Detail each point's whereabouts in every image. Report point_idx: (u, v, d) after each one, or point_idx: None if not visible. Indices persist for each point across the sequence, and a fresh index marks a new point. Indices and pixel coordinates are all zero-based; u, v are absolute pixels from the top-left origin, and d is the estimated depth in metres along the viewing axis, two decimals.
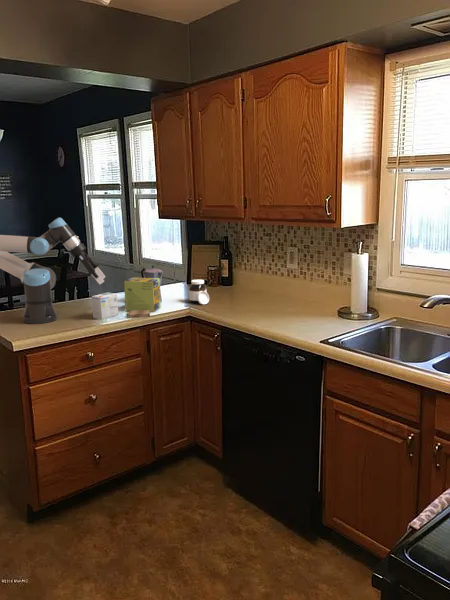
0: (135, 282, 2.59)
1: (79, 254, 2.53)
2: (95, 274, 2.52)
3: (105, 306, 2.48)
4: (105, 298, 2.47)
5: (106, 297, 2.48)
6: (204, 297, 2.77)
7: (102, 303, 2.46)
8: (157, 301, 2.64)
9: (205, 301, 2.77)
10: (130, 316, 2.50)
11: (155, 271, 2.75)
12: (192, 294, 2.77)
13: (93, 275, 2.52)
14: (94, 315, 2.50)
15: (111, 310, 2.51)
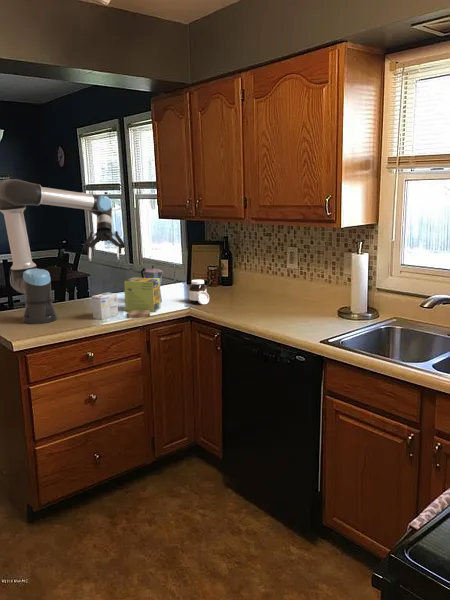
0: (135, 282, 2.59)
1: (111, 231, 2.68)
2: None
3: (105, 306, 2.48)
4: (105, 298, 2.47)
5: (106, 297, 2.48)
6: (204, 297, 2.77)
7: (102, 303, 2.46)
8: (157, 301, 2.64)
9: (205, 301, 2.77)
10: (130, 316, 2.50)
11: (155, 271, 2.75)
12: (192, 294, 2.77)
13: (120, 248, 2.62)
14: (94, 315, 2.50)
15: (111, 310, 2.51)
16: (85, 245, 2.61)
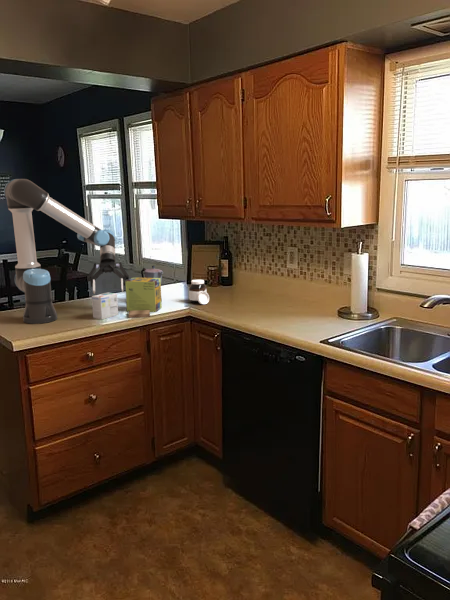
0: (136, 282, 2.58)
1: None
2: None
3: (105, 306, 2.48)
4: (105, 298, 2.47)
5: (106, 297, 2.48)
6: (204, 297, 2.77)
7: (102, 303, 2.46)
8: (158, 301, 2.64)
9: (205, 301, 2.77)
10: (130, 316, 2.50)
11: (155, 271, 2.75)
12: (192, 294, 2.77)
13: None
14: (94, 315, 2.50)
15: (111, 310, 2.51)
16: (89, 277, 2.59)
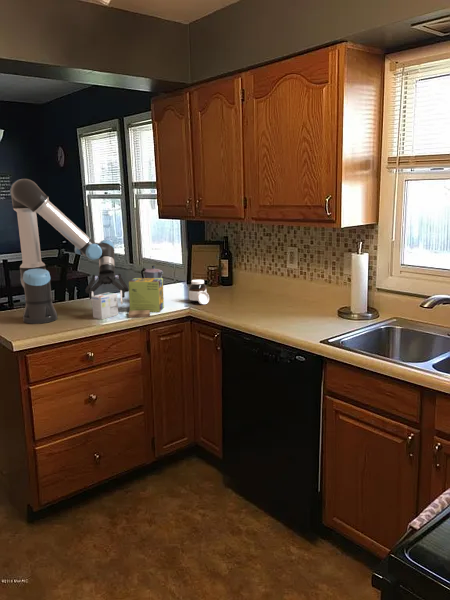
0: (140, 282, 2.57)
1: (114, 274, 2.62)
2: (124, 294, 2.57)
3: (105, 306, 2.48)
4: (105, 298, 2.47)
5: (106, 297, 2.48)
6: (204, 297, 2.77)
7: (102, 303, 2.46)
8: (161, 301, 2.64)
9: (205, 301, 2.77)
10: (130, 316, 2.50)
11: (155, 271, 2.75)
12: (192, 294, 2.77)
13: (124, 292, 2.56)
14: (94, 315, 2.50)
15: (111, 310, 2.51)
16: (87, 289, 2.54)
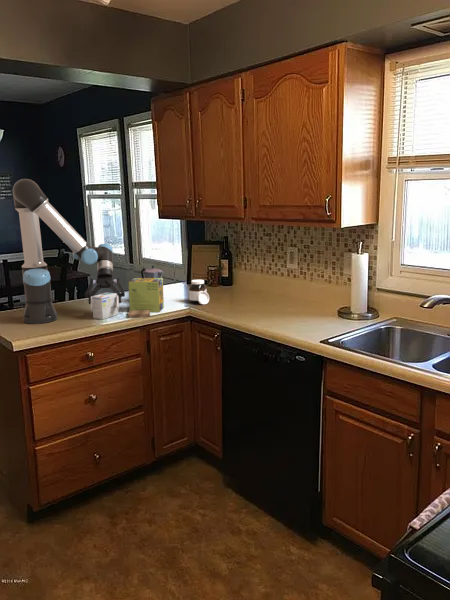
0: (140, 282, 2.57)
1: (112, 277, 2.59)
2: None
3: (106, 306, 2.48)
4: (106, 298, 2.47)
5: (107, 297, 2.48)
6: (204, 297, 2.77)
7: (103, 302, 2.46)
8: (161, 301, 2.64)
9: (205, 301, 2.77)
10: (130, 316, 2.50)
11: (155, 271, 2.75)
12: (192, 294, 2.77)
13: (120, 297, 2.53)
14: (94, 315, 2.49)
15: (111, 309, 2.51)
16: (87, 294, 2.52)
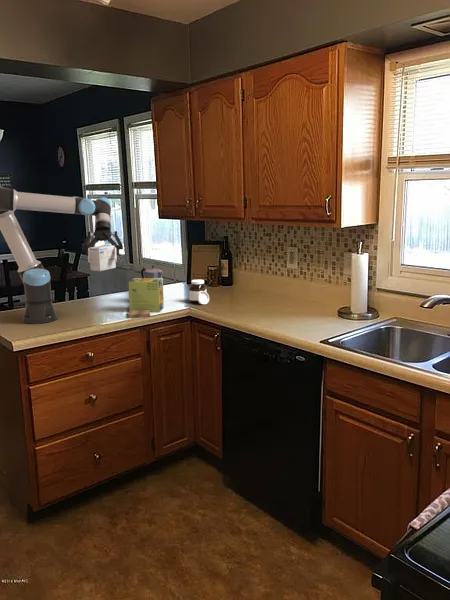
0: (140, 282, 2.57)
1: (110, 230, 2.55)
2: None
3: (104, 257, 2.43)
4: (103, 249, 2.42)
5: (104, 248, 2.43)
6: (204, 297, 2.77)
7: (100, 253, 2.41)
8: (161, 301, 2.64)
9: (205, 301, 2.77)
10: (130, 316, 2.50)
11: (155, 271, 2.75)
12: (192, 294, 2.77)
13: (118, 250, 2.48)
14: (92, 267, 2.45)
15: (109, 262, 2.47)
16: (84, 246, 2.47)
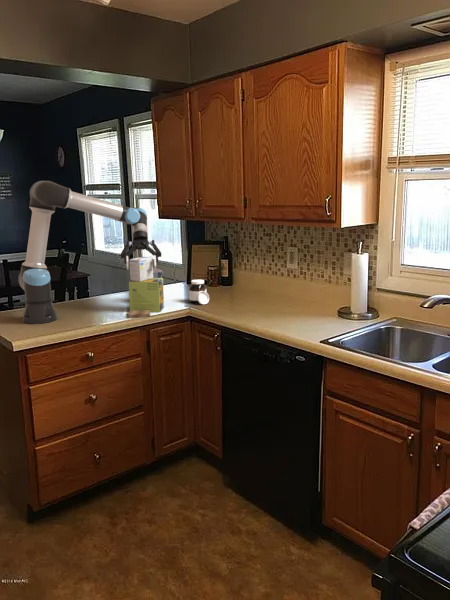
0: (140, 282, 2.57)
1: (147, 240, 2.69)
2: None
3: (143, 269, 2.58)
4: (143, 261, 2.57)
5: (144, 260, 2.58)
6: (204, 297, 2.77)
7: (140, 265, 2.56)
8: (162, 301, 2.64)
9: (205, 301, 2.77)
10: (130, 316, 2.50)
11: (155, 271, 2.75)
12: (192, 294, 2.77)
13: None
14: (132, 278, 2.59)
15: (148, 272, 2.62)
16: (122, 254, 2.61)
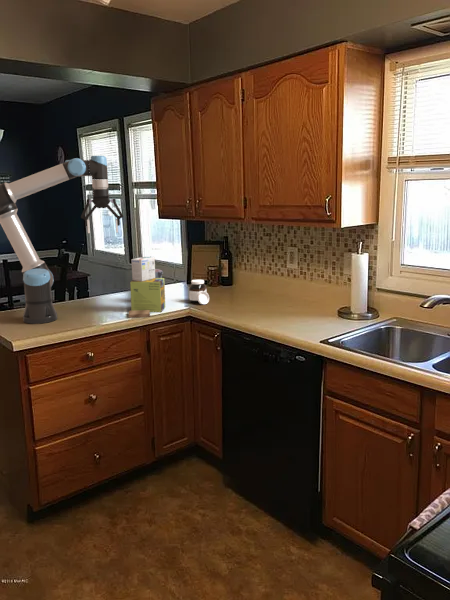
0: (142, 282, 2.57)
1: (108, 197, 2.56)
2: (119, 221, 2.60)
3: (145, 269, 2.58)
4: (145, 261, 2.57)
5: (146, 260, 2.58)
6: (204, 297, 2.77)
7: (142, 265, 2.56)
8: (163, 301, 2.64)
9: (205, 301, 2.77)
10: (130, 316, 2.50)
11: (155, 271, 2.75)
12: (192, 294, 2.77)
13: (119, 221, 2.59)
14: (134, 278, 2.60)
15: (150, 272, 2.62)
16: (83, 217, 2.55)
